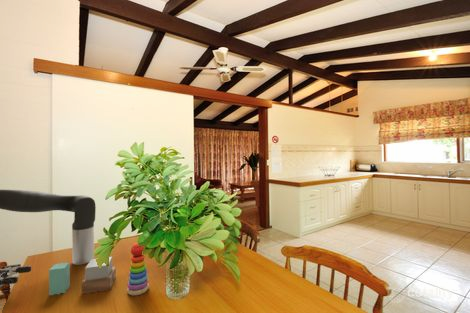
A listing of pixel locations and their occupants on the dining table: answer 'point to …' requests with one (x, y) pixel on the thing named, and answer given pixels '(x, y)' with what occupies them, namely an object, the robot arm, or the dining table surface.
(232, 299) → the dining table surface
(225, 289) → the dining table surface
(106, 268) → the grey top block
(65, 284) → the teal pillar block
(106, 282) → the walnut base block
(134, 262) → the stacking toy
